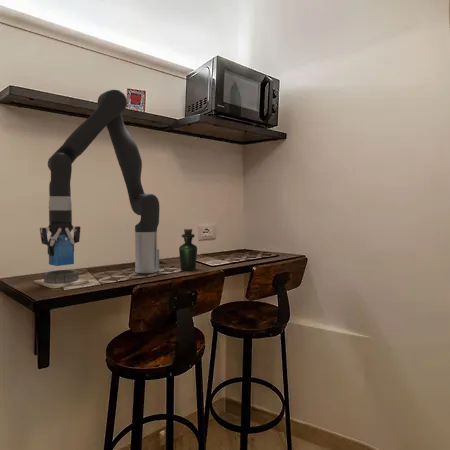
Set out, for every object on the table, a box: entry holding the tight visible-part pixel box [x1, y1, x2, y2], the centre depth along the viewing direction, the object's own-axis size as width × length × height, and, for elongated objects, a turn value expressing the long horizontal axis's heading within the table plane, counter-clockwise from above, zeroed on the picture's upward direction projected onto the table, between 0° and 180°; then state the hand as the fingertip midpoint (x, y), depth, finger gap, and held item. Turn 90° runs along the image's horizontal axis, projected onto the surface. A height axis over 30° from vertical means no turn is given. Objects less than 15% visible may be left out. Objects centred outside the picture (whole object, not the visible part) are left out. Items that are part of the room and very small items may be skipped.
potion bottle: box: [178, 228, 198, 272], centre depth 158 cm, size 8×8×18 cm
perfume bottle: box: [48, 231, 75, 267], centre depth 129 cm, size 6×6×12 cm
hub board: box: [33, 269, 90, 289], centre depth 130 cm, size 13×15×4 cm
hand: (61, 255), depth 129 cm, fingers closed on perfume bottle, 6 cm apart
